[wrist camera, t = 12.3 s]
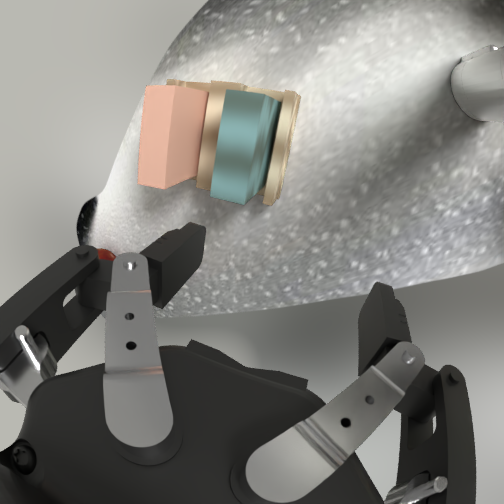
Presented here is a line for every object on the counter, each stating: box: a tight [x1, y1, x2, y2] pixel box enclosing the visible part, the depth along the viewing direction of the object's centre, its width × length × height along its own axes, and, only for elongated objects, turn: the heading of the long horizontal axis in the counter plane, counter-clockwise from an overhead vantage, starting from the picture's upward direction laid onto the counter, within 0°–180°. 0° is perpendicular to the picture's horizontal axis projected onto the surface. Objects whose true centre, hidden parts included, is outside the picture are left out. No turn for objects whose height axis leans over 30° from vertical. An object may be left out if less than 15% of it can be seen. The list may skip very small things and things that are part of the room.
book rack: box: [166, 79, 301, 206], centre depth 33 cm, size 15×18×12 cm
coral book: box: [138, 85, 209, 190], centre depth 32 cm, size 12×4×11 cm, turn 170°
